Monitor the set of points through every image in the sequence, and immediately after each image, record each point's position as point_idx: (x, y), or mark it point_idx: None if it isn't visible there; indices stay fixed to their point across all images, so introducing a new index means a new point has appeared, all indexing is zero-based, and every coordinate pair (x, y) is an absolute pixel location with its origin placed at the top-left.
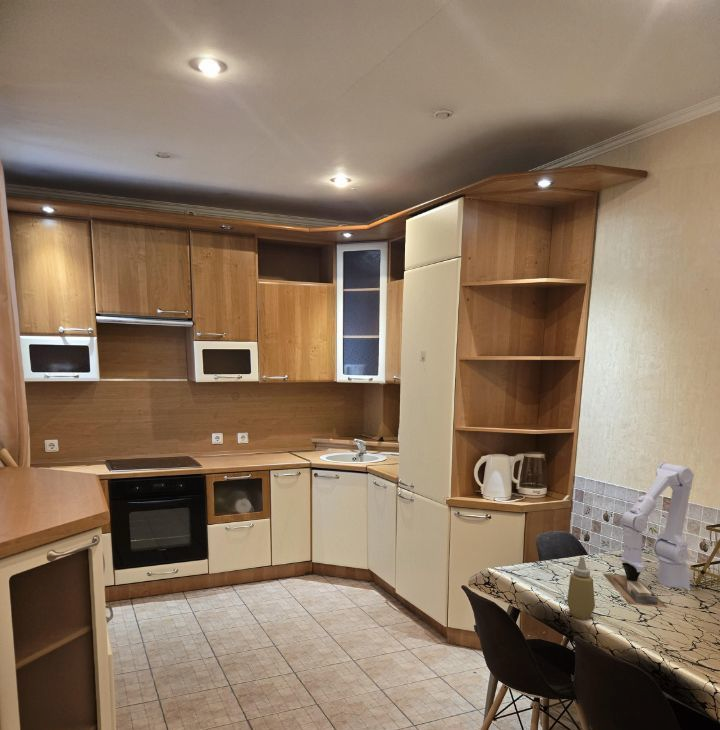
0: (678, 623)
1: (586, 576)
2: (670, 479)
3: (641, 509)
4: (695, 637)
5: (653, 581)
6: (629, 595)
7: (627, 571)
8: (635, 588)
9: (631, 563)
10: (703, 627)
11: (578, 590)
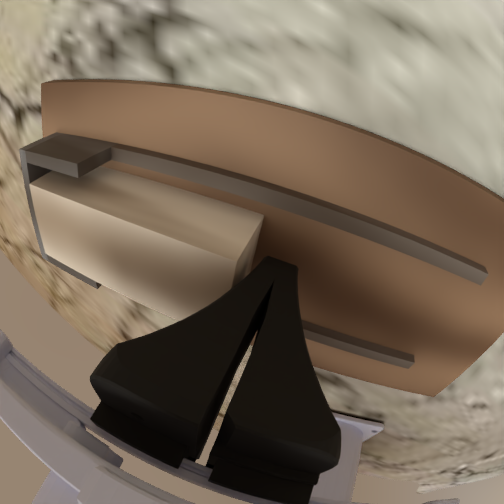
0: (8, 209)
1: None
2: None
3: None
4: None
5: (375, 417)
6: (133, 147)
7: (166, 334)
8: (71, 203)
9: (3, 410)
10: (20, 262)
11: None
